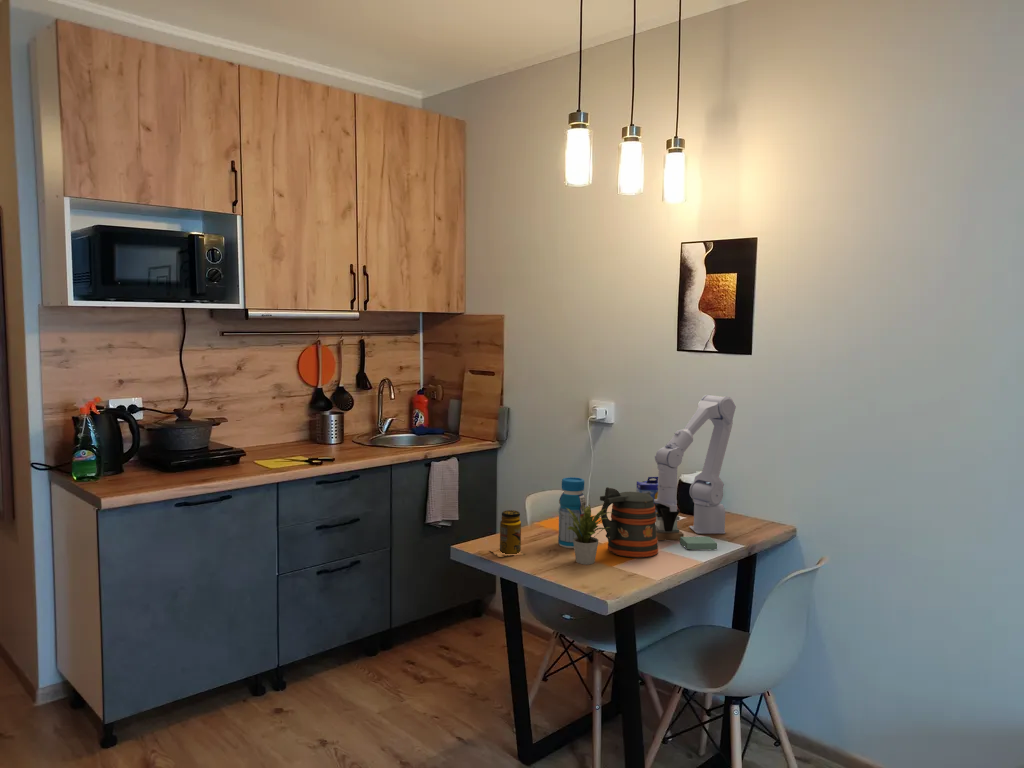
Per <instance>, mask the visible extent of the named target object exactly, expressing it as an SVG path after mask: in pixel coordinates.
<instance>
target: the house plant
mask: <svg viewBox="0 0 1024 768" xmlns="http://www.w3.org/2000/svg"><path fill="white" fill-rule="evenodd" d="M582 506H583V505H582ZM585 507H586V508H585V509H584V506H583V510H584V516H583V518H580V524H579V521H578V519H577V517H576V515H575V514H574V513H573V512H572V511H571V510H570V509H568V508H567V509H568V510H569V512H570V513H571V515H572V516H573V518H574V519H573V518H572V517H571V516H570V515H569V514H568V515H569V516H570V517H571V518H572V519H573V520H574V521H575V522H574V521H573V526H574V527H571V526H569V527H568V529H567V530H573V531H574V532H575V533H576V535H577V537H575V538H574V539H573V543H574V548H573V549H574V556H575V557H574V558H575V562H576V563H577V564H580V565H586V566H587V565H593V564H594V563H596V556H597V551H598V545H599V539H598V538H596V536H597V535H598V534H599V533H601V532H602V531H603V530H605V531H606V529H605V528H604V527H599V525H598V524H599V523H600V522H602V519H601V516H602V515H604V514H607V515H608V514H611V513H614V512H612V511H610V512H609V511H607V513H604V512H603V511H604V510H605V509H607V508H605V509H603V510H600V511H598V512H597V513H596V514H595V515H592V509H591V504H588V505H587V506H585ZM565 508H566V507H565ZM607 510H608V509H607ZM602 513H604V514H602ZM601 514H602V515H601ZM603 519H609V518H603ZM575 523H576V524H577V526H578V528H579V530H580V532H581V534H582V536H581V534H580V532H579V530H578V528H577V526H576V524H575ZM580 525H581V526H580ZM607 528H609V527H607ZM598 530H600V531H599V532H597V533H596V531H598ZM607 531H608V530H607ZM608 532H609V531H608ZM594 534H595V535H594ZM592 535H594V536H592Z"/></svg>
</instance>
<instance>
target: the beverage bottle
mask: <svg viewBox="0 0 1024 768" xmlns="http://www.w3.org/2000/svg"><path fill="white" fill-rule="evenodd" d="M561 490H562V491H563V492H561V495H560V497H559V500H558V503H559V507H558V510H557V512H558V539H557V544H558V545H559V546H560V547H562V548H565V549H574V543H573V539H574V538H575V537H577V535H576V533H575V532H574V531H573V530H567V529H568V527H569V526H571V527H574V526H573V521H574V520H573V519H574V518H573V516H572V515H571V513H570V512H569V510H568V509H570V510H571V511H572V512H573V513H574V514H575V515H576V517H577V519H578V521H579V524H580V518H583V516H584V510H583V506H584V509H585V508H586V507H587V506H586V505H587V499H586V496H585V495H584V491H585V479H584V478H581V477H573V476H572V477H571V476H569V477H563V478H562V479H561ZM582 505H583V506H582ZM565 507H566V508H565ZM567 508H568V509H567ZM568 514H569V515H570V516H571V517H572V518H573V519H572V518H571V517H570V516H569V515H568ZM574 522H575V521H574ZM575 524H576V523H575ZM576 526H577V524H576ZM580 526H581V525H580ZM577 528H578V526H577ZM578 530H579V528H578ZM579 532H580V530H579ZM580 534H581V532H580ZM581 536H582V534H581Z"/></svg>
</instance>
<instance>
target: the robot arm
mask: <svg viewBox="0 0 1024 768" xmlns="http://www.w3.org/2000/svg"><path fill="white" fill-rule="evenodd" d="M736 408H737V407H736V405H735V403H734V400H733V399H732V398H731V397H730V396H720V395H719V396H718V395H712V394H707V393H706V394H705V395H703V396H702V397H701V399H700V400H699V402H698V403H697V409H696V410H695V412H694V413H693V414H692V416H691V418H690V419H689V420H688V422H687V424H686V425H685V427H684V428H682V429H681V428H680V429H677V430H676V431H675V432H674V435H672V436H671V439H670V440H669V441H668V442H667V443H666V444H665V446H663V447H660V448H659V449H658V450H657V451H656V454H655V455H654V460H655V463H656V465H657V466H656V467H657V468H656V469H657V470H658V475H657V477H658V496H657V499H654V502H655V503H659V504H655V507H656V509H657V512H658V514H662V515H663V520H664V529H665V531H672V530H673V526H674V522H675V519H676V517H677V515H678V516H679V514H680V510H679V509H678V505H677V504H678V500H677V497H678V496H677V494H678V493H677V492H678V489H677V488H678V487H677V486H678V467H679V466H680V465H681V463H683V457H684V454H685V452H686V451H687V449H688V448H689V447H690V446H691V444H692V443H693V441H694V437H693V436H694V435H695V434H696V432H697V431H698V430H699V429H700V428H701V427H703V425H704V424H705V423H706V422H707V421H708V420H710V421H711V422H712V425H713V429H712V433H711V437H710V440H709V444H708V448H707V452H706V454H705V458H704V462H703V467H702V471H701V472H700V473H698V474H697V475H695V477H694V479H693V482H692V483H691V484H690V487H689V496H690V497H691V499H692V503H694V506H693V525H689V529H691V530H692V531H694V532H695V534H697V535H698V534H699V535H701V534H702V535H703V534H706V535H707V534H710V535H712V534H726V530H725V529H726V509H725V506H724V504H723V503H721V502H722V500H723V497H724V485H725V484H724V482H723V481H722V479H721V478H720V473H721V470H722V466H723V462H724V458H725V455H726V451H727V447H728V444H729V443H728V442H729V440H730V435H731V433H732V428H733V425H734V424H733V419H734V415H735V411H736Z"/></svg>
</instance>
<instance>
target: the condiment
mask: <svg viewBox="0 0 1024 768" xmlns="http://www.w3.org/2000/svg"><path fill="white" fill-rule="evenodd" d="M500 518H501V520H500V525H499V549H500V551H501V552H502V553H505V554H517V553H519V552H520V551H521V550H522V549H521V548H522V546H521V545H522V541H521V540H522V539H521V538H522V537H521V536H522V534H521V533H522V521H521V513H520V512H519V511H518V510H513V509H510V510H509V509H506V510H503V511H502V512H501V517H500Z"/></svg>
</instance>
